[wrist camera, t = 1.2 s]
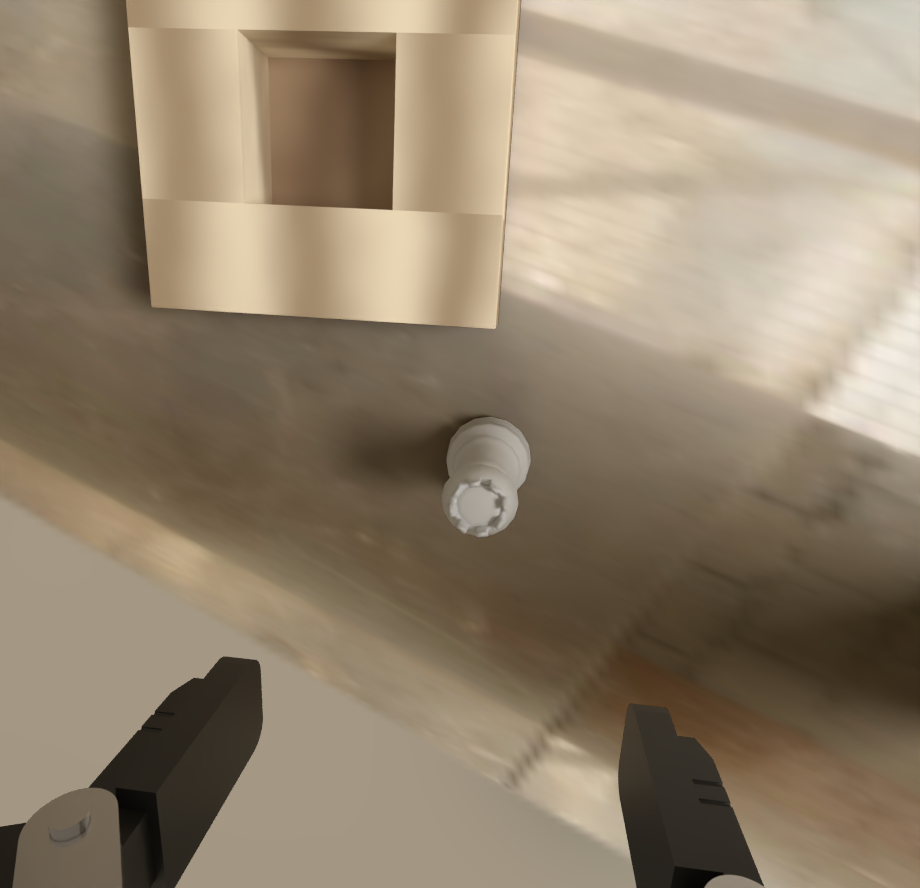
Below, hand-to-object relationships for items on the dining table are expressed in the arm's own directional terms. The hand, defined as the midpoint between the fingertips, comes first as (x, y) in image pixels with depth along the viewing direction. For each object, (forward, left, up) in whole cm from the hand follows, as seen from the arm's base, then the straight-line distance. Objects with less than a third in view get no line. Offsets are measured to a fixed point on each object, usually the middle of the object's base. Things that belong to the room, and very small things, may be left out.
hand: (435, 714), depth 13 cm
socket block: (+8, -15, -20) cm, 26 cm away
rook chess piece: (0, 0, -20) cm, 20 cm away
